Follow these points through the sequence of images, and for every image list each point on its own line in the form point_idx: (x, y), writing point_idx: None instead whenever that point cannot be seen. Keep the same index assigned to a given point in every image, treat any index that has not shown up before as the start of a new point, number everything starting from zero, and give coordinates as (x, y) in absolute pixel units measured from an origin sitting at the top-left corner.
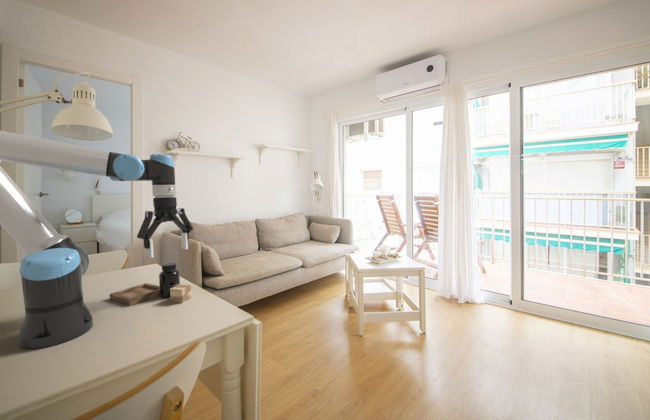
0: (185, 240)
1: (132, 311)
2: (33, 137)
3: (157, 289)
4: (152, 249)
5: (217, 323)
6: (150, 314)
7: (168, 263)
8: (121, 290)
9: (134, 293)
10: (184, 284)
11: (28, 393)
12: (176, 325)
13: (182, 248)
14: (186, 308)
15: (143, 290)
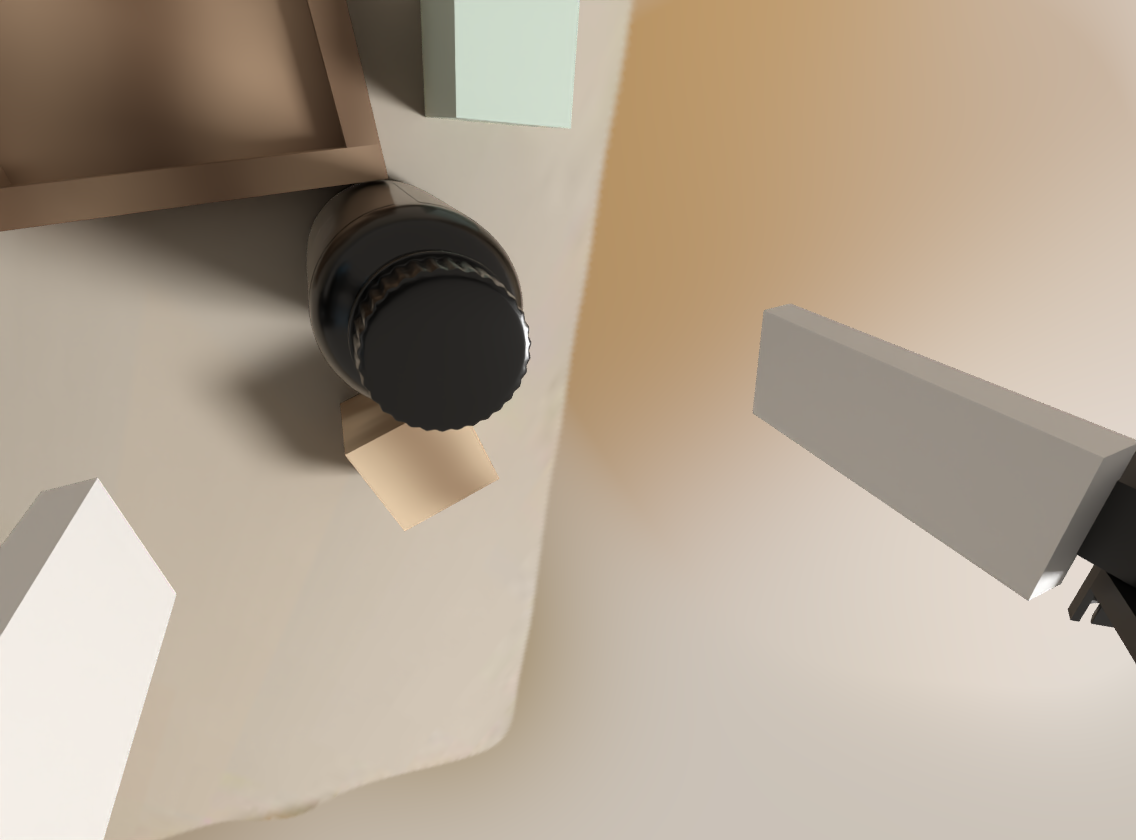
0: (872, 487)
1: (24, 378)
2: None
3: (327, 79)
4: (113, 743)
5: (400, 744)
6: (158, 516)
7: (464, 304)
8: None
9: None
10: (468, 438)
11: None
12: (255, 700)
13: (766, 328)
14: (372, 558)
15: None
